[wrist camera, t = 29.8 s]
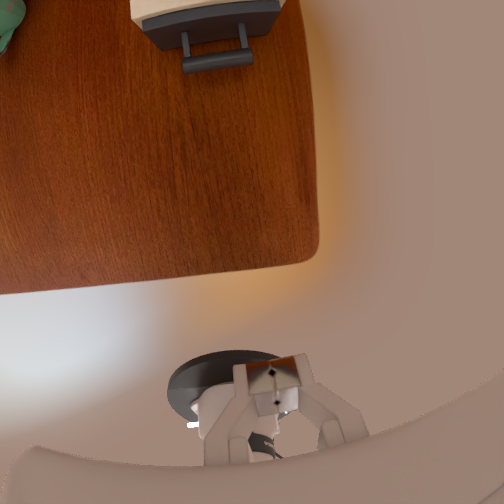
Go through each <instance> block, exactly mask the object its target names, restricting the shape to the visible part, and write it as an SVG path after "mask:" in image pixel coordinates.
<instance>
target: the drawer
mask: <svg viewBox="0 0 504 504" xmlns="http://www.w3.org/2000/svg"><path fill="white" fill-rule="evenodd" d="M280 12H281V7H280V2H279V0H263V1H262V0H251V1H238V2H232V3H226V4H218V5H211V6H204V7H198V8H193V9H184V10H179V11H175V12H170V13H166V14H162V15H158V16H157V17H153V18H150V19H146V20H143V21H142V30H143V33H144V34H145V35H146V36H147V37H148V38H149V39H150V40H151V41H152V42H153V43H154V44H155V45H156V46H157V47H158V48H159V49H160V50H161V51H164V50H168V49H172V48H177V47H181V46H183V53H184V58H183V59H182V67H183V72H184V74H185V75H187V74H192V73H197V72H202V71H208V70H214V69H221V68H227V67H235V66H243V65H252V64H253V54H252V50H251V48H249V49H248V41H247V36H258V35H267V34H268V32H269V30H270V29H271V27H272V25H273V24H274V22H275V20H276V19H277V17H278V15H279V14H280ZM237 37H239V38H240V45H241V49H239V50H231V51H223V52H217V53H210V54H204V55H199V56H193V57H191V50H190V45H191V44H196V43H202V42H208V41H214V40H221V39H228V38H237Z"/></svg>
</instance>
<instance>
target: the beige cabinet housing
mask: <svg viewBox="0 0 504 504" xmlns="http://www.w3.org/2000/svg"><path fill="white" fill-rule="evenodd" d="M238 1H251V0H130V8H131V19H132V20H133V21H134V22H135V23H136V24H137V25H138V26H139V27H140V28H141V29H142V21H143V20H146V19H150V18H153V17H157V16H158V15H162V14H166V13H170V12H175V11H179V10H184V9H189V8H194V7H200V6H206V5H213V4H220V3H228V2H238ZM262 1H263V0H262ZM285 1H286V0H279V2H280V7H282V6H283V4H284V3H285Z"/></svg>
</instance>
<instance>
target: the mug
mask: <svg viewBox="0 0 504 504" xmlns="http://www.w3.org/2000/svg"><path fill="white" fill-rule="evenodd" d="M25 13H26V6H25V4H24V2H23V0H0V36H1V35H2V38H1V40H0V57H1V56H2V54H3V53H4V52H5V51H6V50H7V48H8V45H9V42H10V39H11V37H12V34H13V31H14V29H16V28H17V27H18V25H19V24H20V23H21V21H22V20H23V18H24V16H25Z"/></svg>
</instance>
